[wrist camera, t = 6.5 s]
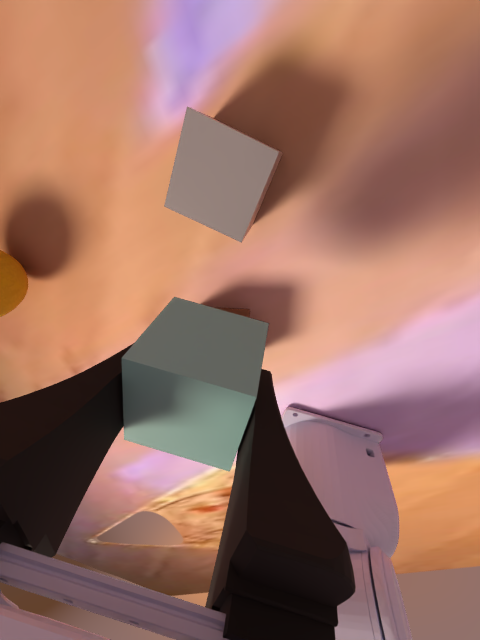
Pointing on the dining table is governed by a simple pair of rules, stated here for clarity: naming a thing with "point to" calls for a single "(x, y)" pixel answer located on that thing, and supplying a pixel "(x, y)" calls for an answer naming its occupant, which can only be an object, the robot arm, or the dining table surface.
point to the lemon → (11, 283)
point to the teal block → (193, 382)
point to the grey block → (220, 175)
